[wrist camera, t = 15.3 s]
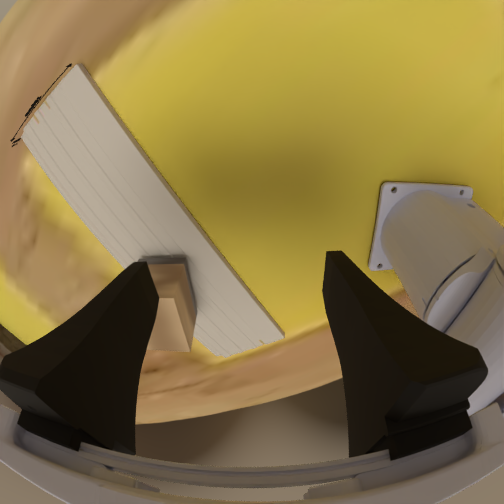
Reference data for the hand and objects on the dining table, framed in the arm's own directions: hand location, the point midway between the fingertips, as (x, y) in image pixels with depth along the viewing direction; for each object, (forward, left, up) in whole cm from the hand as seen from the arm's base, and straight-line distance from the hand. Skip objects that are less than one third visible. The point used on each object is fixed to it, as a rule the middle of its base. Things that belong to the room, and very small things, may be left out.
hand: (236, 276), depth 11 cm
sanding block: (+7, +8, -9) cm, 14 cm away
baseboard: (+8, +5, -11) cm, 14 cm away
